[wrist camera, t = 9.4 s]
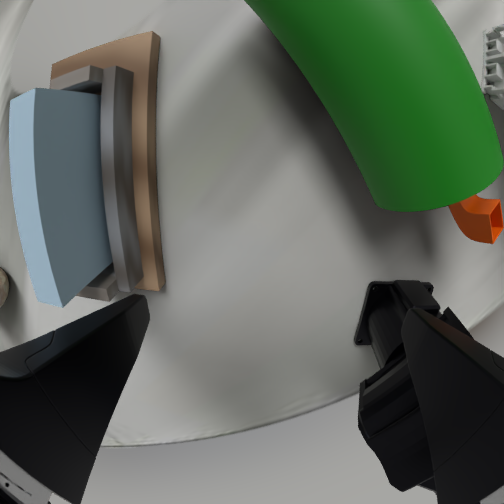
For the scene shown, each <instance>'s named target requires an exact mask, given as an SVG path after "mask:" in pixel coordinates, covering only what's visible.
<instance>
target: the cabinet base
mask: <svg viewBox="0 0 504 504" xmlns="http://www.w3.org/2000/svg"><path fill="white" fill-rule="evenodd" d="M159 45H160V36H158V35H157V34H156V33H154V32H153V31H150V32H146V33H142V34H138V35H134V36H130V37H126V38H123V39H119V40H116V41H112V42H109V43H106V44H103V45H100V46H97V47H94V48H91V49H88V50H86V51H83V52H81V53H78V54H76V55H73V56H70V57H68V58H66V59H63V60H61V61H59V62H57V63H54V64H52V71H51V80H50V89H56V90H66V91H75V92H83V93H90V94H96V95H101V164H102V180H103V192H104V202H105V212H106V220H107V227H108V234H109V241H110V247H111V253H112V259H113V262H112V263H111V264H110V265H109V266H107V267H106V268H105V269H104V270H103V271H102V272H101V273H100V274H98V275H97V276H96V277H95V278H94V279H93V280H92V281H91V282H90V283H89V284H87V285H86V286H85V287H84V288H83V289H82V290H81V291H80V292H79V293H78V294H77V295H76V296H80V297H85V298H91V299H97V300H103V301H109V302H110V300H111V299H112V298H113V297H114V296H115V295H116V294H117V293H118V291H123V292H131V291H132V290H133V289H134V288H136V289H144V290H154V291H160V289H161V288H162V287H163V285H164V284H165V274H164V266H163V257H162V247H161V237H160V226H159V213H158V198H157V178H156V89H157V71H158V57H159Z"/></svg>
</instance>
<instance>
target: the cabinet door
mask: <svg viewBox="0 0 504 504" xmlns="http://www.w3.org/2000/svg"><path fill="white" fill-rule="evenodd" d="M9 154H10V171H11V183H12V192H13V200H14V207H15V213H16V219H17V225H18V230H19V235H20V239H21V244H22V248H23V252H24V256H25V260H26V264H27V268H28V271H29V275H30V278H31V281H32V285H33V288H34V291H35V294H36V297H37V300H38V301H39V302H42V303H46V304H50V305H54V306H58V307H62V308H63V307H64V306H65V305H66V304H67V303H68V302H69V301H70V300H71V299H72V298H74V297H75V296H76V295H77V294H78V293H79V292H80V291H81V290H82V289H83V288H84V287H85V286H86V285H87V284H89V283H90V282H91V281H92V280H93V279H94V278H95V277H96V276H97V275H98V274H100V273H101V272H102V271H103V270H104V269H105V268H106V267H107V266H109V265H110V264H111V263H112V262H113V259H112V253H111V247H110V241H109V234H108V227H107V220H106V212H105V202H104V192H103V180H102V164H101V95H96V94H90V93H83V92H75V91H66V90H56V89H44V88H34V89H32V90H30V91H28V92H26V93H24V94H22V95H20V96H18V97H16V98H14V99H13V100H11V101H10V118H9Z"/></svg>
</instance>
